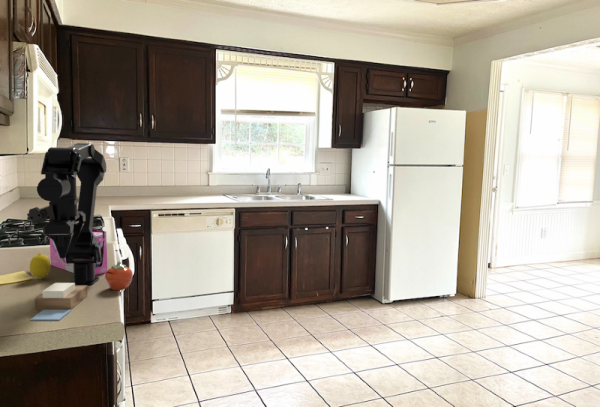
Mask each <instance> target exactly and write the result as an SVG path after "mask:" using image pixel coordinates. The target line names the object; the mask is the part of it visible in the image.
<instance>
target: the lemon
mask: <svg viewBox="0 0 600 407" xmlns="http://www.w3.org/2000/svg"><path fill="white" fill-rule="evenodd" d="M51 267H52V265H51V259H49V257H48V256H47V255H45V254H42V253H38V254H36V255H34V256H33V257H32V258H31V259H30V262H29V272H30V273H31V275H32V276H33V277H35V278H38V279H39V280H43V279H44V278H45V277H47V276H48V275H49V273H50V271H51Z"/></svg>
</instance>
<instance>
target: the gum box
mask: <svg viewBox="0 0 600 407" xmlns="http://www.w3.org/2000/svg"><path fill="white" fill-rule="evenodd" d="M92 232H93V234H94V236H95V238H96V239H97V244H98V247H99V249H100V252H101V262H98V263H94V265H95V276H96V275H100V274H106V272H107V271H108V247H107V242H108V241H107V231H105V230H102V229H95V228H92ZM49 251H50V252H49V254H50V255H49V256H50V259H49V260H50V264H51V267H52V266H53V267H56V268H59V269H62V270H64V271H67V272H70V273H73V274H74V268H73V263H69V264H67V263H66V258H64V259H61V258H60V257H59V254H58V251H57V248H56V246H55V243H54V241H53V240H52V239H51V238H49ZM93 258H94V257H93Z"/></svg>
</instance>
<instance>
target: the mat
mask: <svg viewBox="0 0 600 407" xmlns="http://www.w3.org/2000/svg"><path fill="white" fill-rule="evenodd" d="M71 311H72V310H40V312H39V313H37V314H36V315H35V316H33V317H32V318H30V320H29V321H36V322H37V321H61V320H62V319H64V317H66V316H67V315H68V314H70V313H71Z"/></svg>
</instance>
